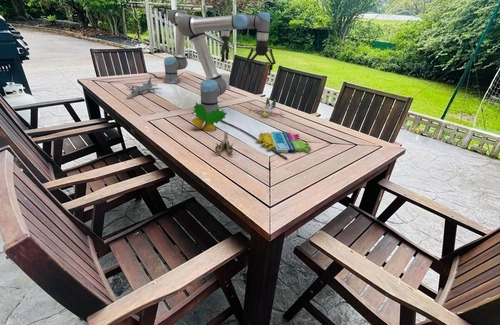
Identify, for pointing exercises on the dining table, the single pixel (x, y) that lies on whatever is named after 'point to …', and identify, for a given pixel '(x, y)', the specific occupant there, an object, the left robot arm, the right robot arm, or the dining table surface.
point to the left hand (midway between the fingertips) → (224, 60)
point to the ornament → (207, 117)
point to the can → (226, 79)
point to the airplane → (142, 88)
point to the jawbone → (224, 145)
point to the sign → (283, 142)
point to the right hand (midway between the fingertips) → (259, 74)
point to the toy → (267, 109)
